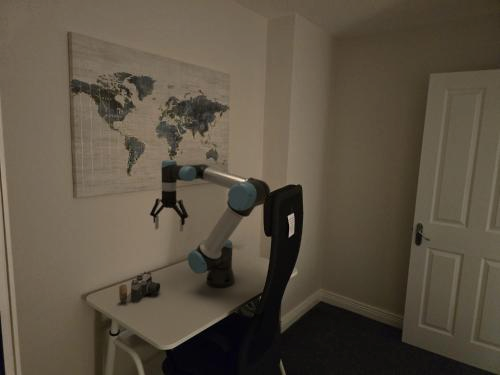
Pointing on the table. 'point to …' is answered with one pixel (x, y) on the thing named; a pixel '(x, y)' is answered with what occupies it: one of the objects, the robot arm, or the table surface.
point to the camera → (143, 286)
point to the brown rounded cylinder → (123, 293)
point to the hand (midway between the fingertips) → (169, 229)
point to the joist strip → (127, 300)
